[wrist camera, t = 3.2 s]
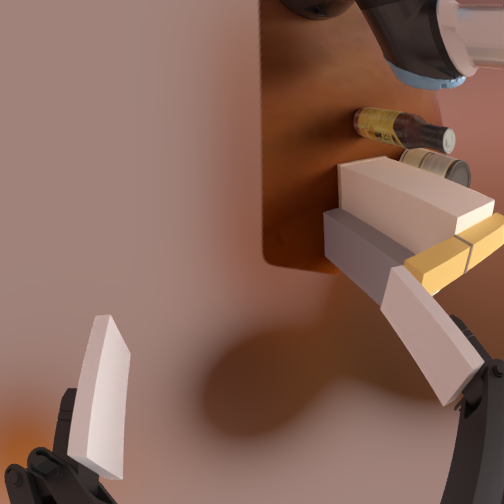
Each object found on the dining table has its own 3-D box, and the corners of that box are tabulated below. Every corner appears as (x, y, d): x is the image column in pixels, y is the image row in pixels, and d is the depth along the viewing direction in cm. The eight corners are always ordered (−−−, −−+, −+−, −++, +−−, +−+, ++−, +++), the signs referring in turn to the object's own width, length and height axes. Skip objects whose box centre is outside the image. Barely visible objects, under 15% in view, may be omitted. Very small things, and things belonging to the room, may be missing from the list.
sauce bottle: (348, 133, 49) (432, 155, 33) (354, 102, 47) (441, 113, 30) (372, 141, 52) (453, 165, 35) (378, 112, 49) (461, 128, 33)
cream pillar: (339, 209, 56) (444, 278, 34) (337, 164, 52) (457, 216, 29) (383, 197, 59) (484, 251, 37) (384, 155, 54) (495, 198, 32)
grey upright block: (324, 256, 60) (394, 318, 42) (323, 212, 55) (404, 267, 37) (368, 240, 63) (439, 291, 45) (370, 198, 58) (451, 243, 40)
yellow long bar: (399, 289, 30) (417, 304, 28) (404, 259, 28) (424, 274, 26) (491, 234, 36) (505, 242, 33) (496, 212, 34) (511, 219, 31)
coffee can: (429, 163, 60) (474, 181, 48) (409, 195, 62) (454, 218, 50) (412, 136, 55) (462, 150, 43) (390, 170, 57) (440, 190, 45)
